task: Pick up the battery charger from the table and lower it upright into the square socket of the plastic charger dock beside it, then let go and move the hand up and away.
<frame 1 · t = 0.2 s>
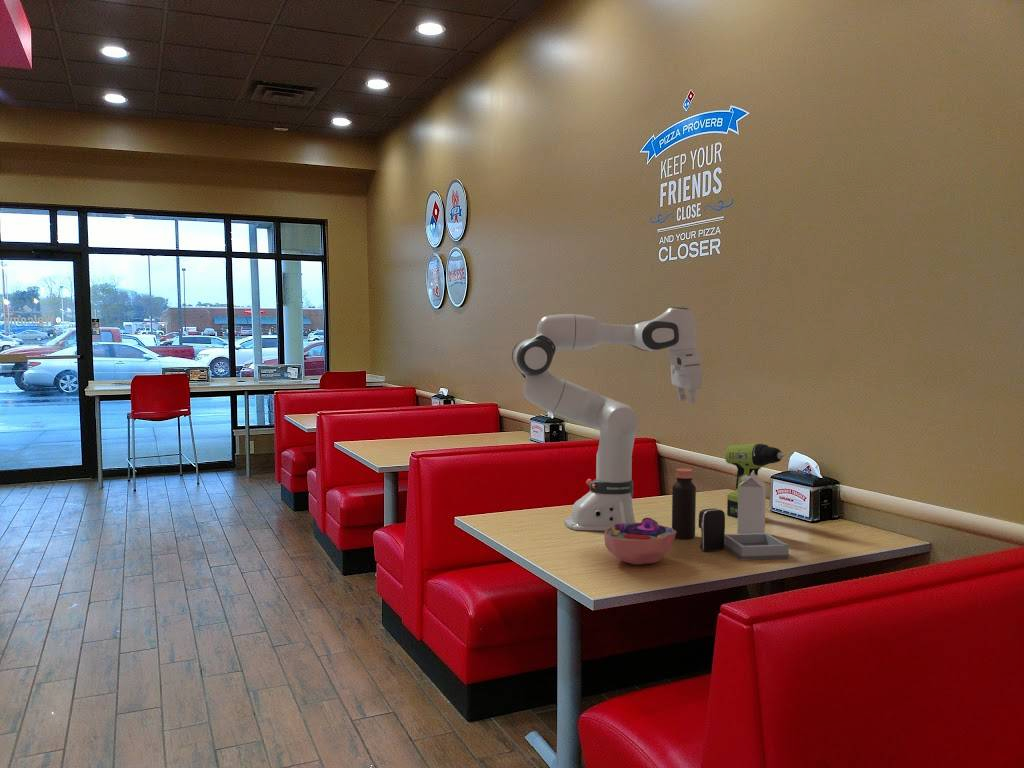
hand: (687, 401, 238), 39 cm above the table, tool pointing down, fingers open, 8 cm apart
milk carton: (751, 535, 225), on the table
battery charger: (710, 550, 209), on the table
charger dock: (754, 552, 206), on the table
cordless drill: (755, 520, 243), on the table
bottle: (683, 537, 223), on the table
cell model: (639, 562, 198), on the table
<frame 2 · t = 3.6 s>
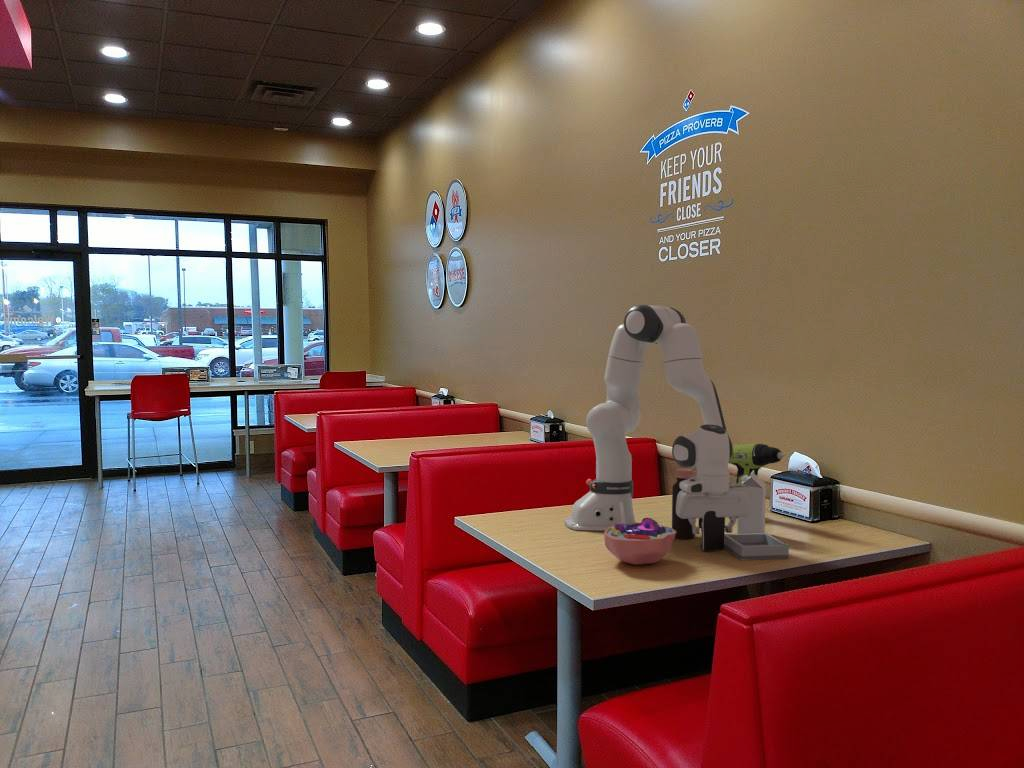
hand: (712, 533, 209), 5 cm above the table, tool pointing down, fingers open, 8 cm apart
nothing on the table moved.
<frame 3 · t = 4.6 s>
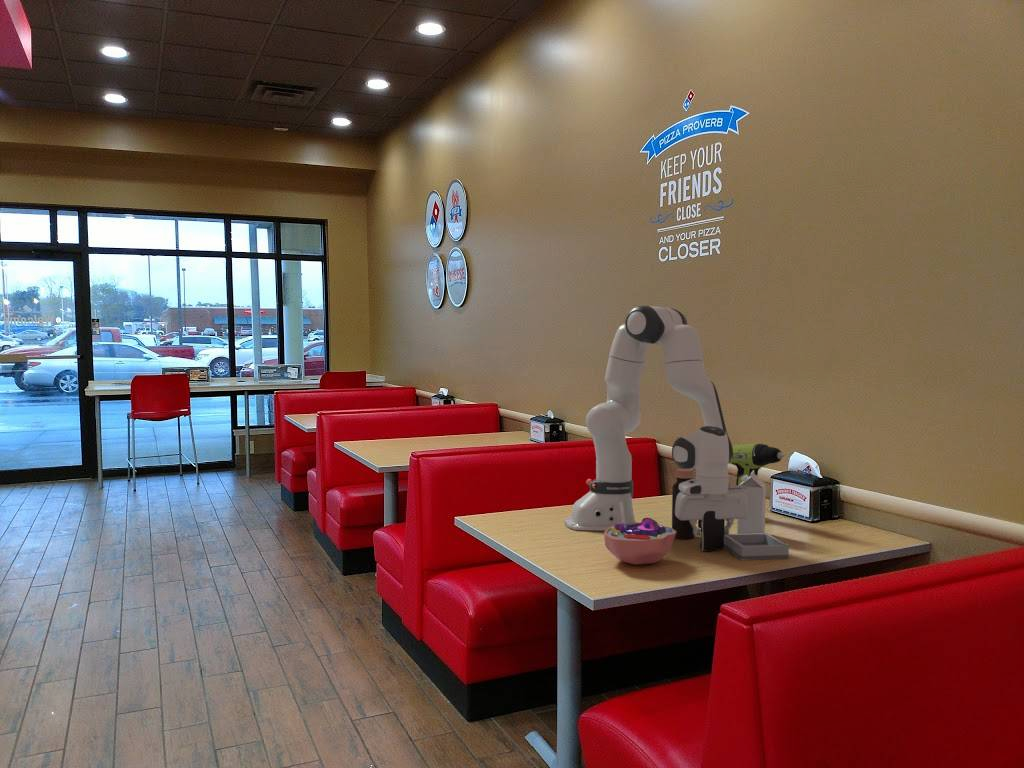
hand: (711, 534, 209), 4 cm above the table, tool pointing down, fingers closed on battery charger, 7 cm apart
battery charger: (710, 550, 209), on the table, touching gripper
everything else where it was.
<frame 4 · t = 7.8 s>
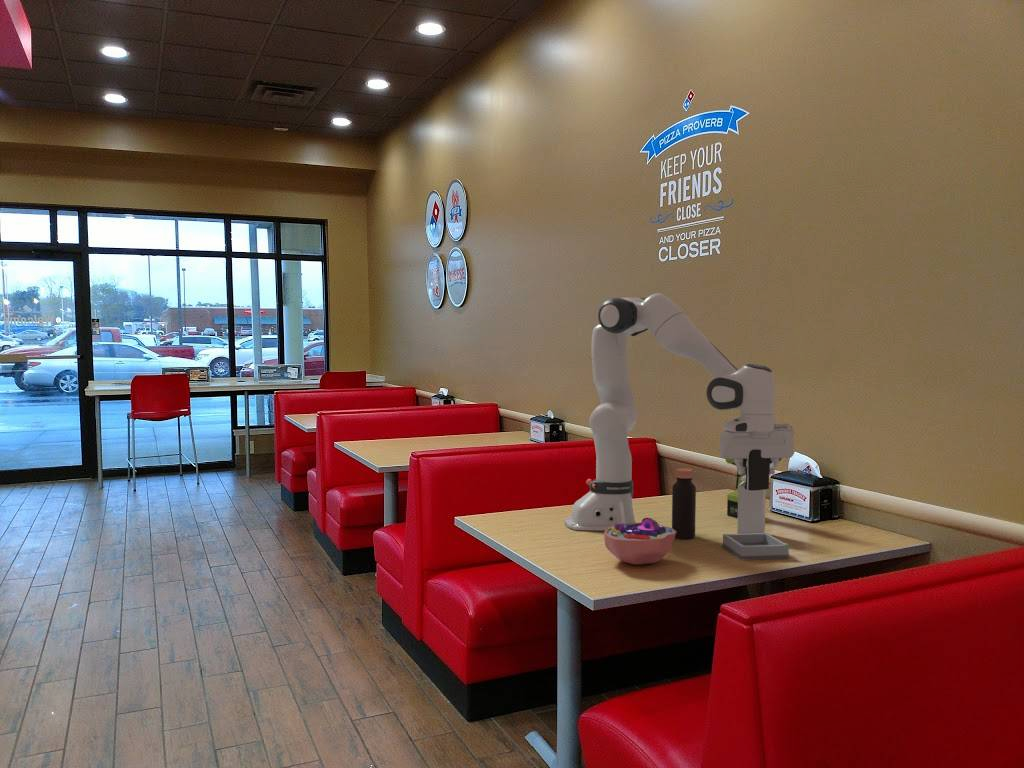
hand: (756, 474, 205), 22 cm above the table, tool pointing down, fingers closed on battery charger, 7 cm apart
battery charger: (755, 490, 205), point 17 cm above the table, touching gripper
everything else where it was.
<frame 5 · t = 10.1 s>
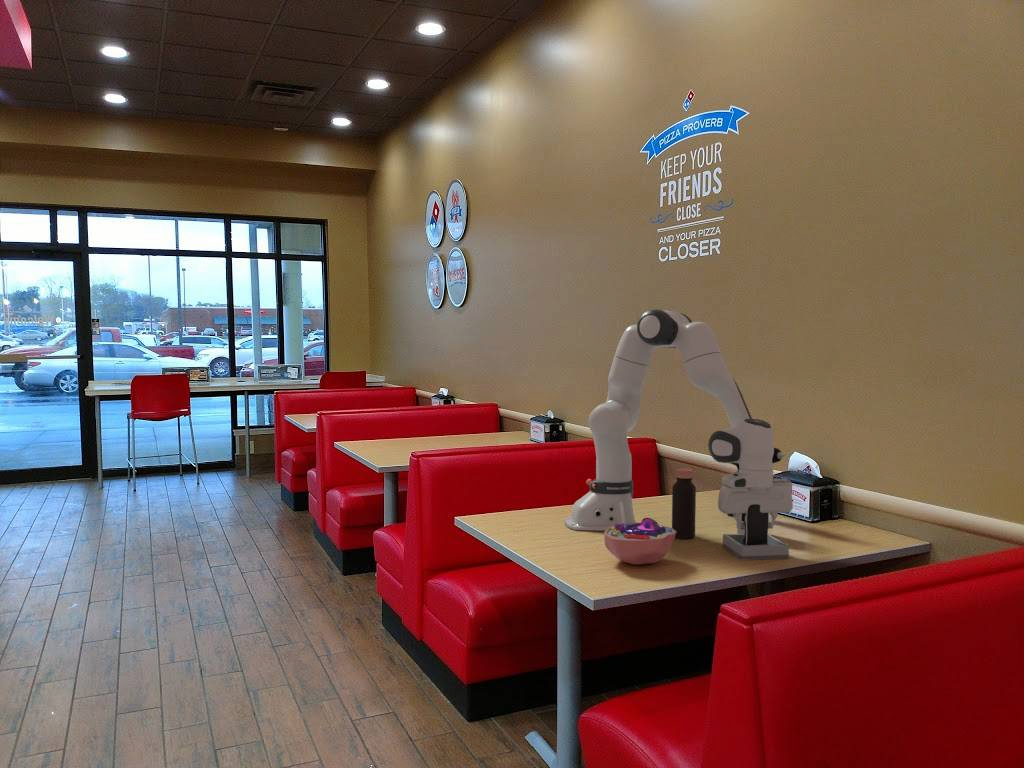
hand: (754, 528, 206), 7 cm above the table, tool pointing down, fingers closed on battery charger, 7 cm apart
battery charger: (753, 544, 206), point 2 cm above the table, touching gripper
everything else where it was.
when the fingers open (6 cm above the table, at t = 11.3 s): battery charger moves 2 cm, resting on charger dock.
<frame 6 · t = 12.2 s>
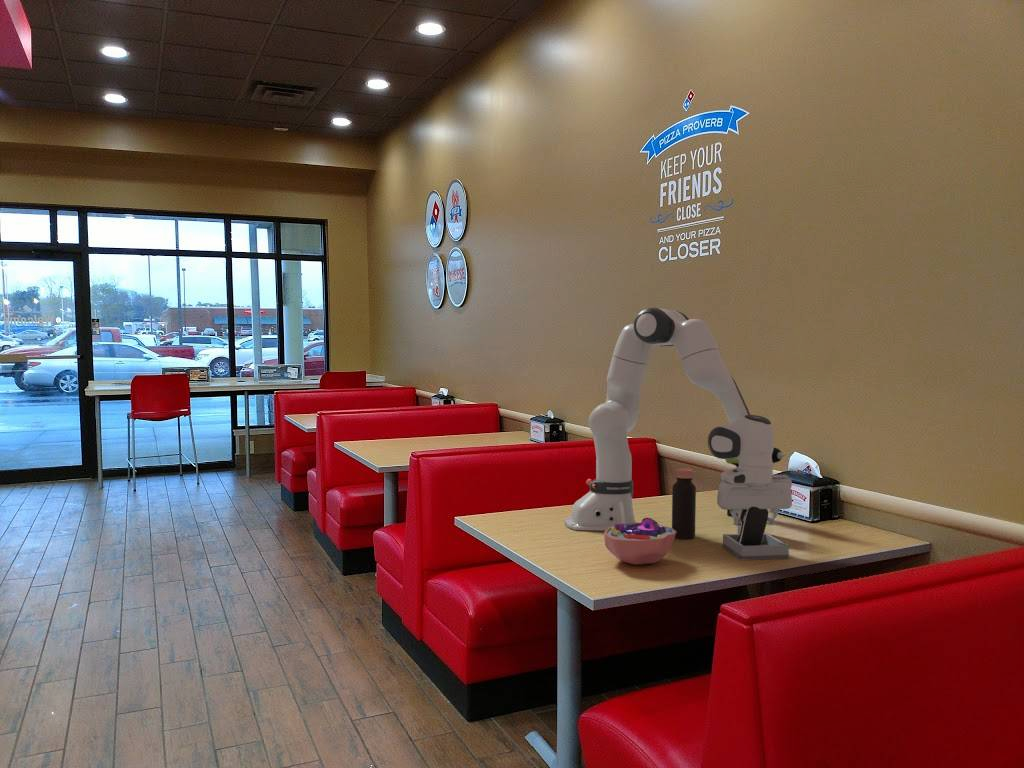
hand: (753, 524, 206), 8 cm above the table, tool pointing down, fingers open, 8 cm apart
battery charger: (746, 546, 206), point 2 cm above the table, touching charger dock, gripper
everything else where it was.
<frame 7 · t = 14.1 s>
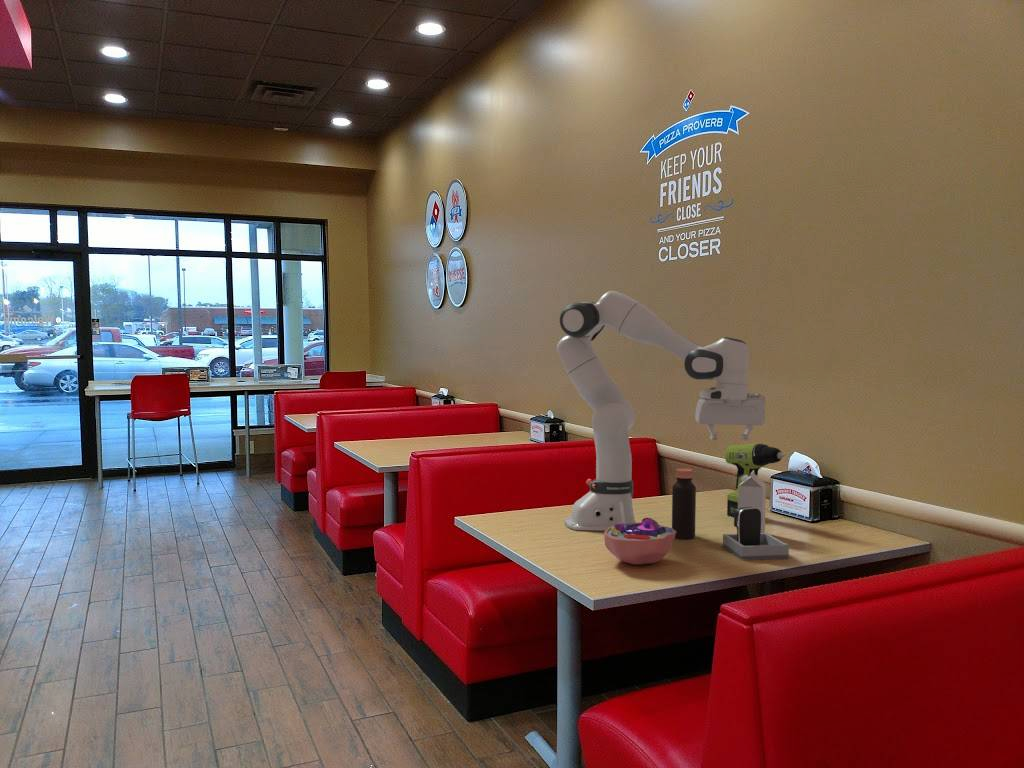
hand: (729, 439, 221), 29 cm above the table, tool pointing down, fingers open, 8 cm apart
battery charger: (746, 549, 206), point 1 cm above the table, touching charger dock
everything else where it was.
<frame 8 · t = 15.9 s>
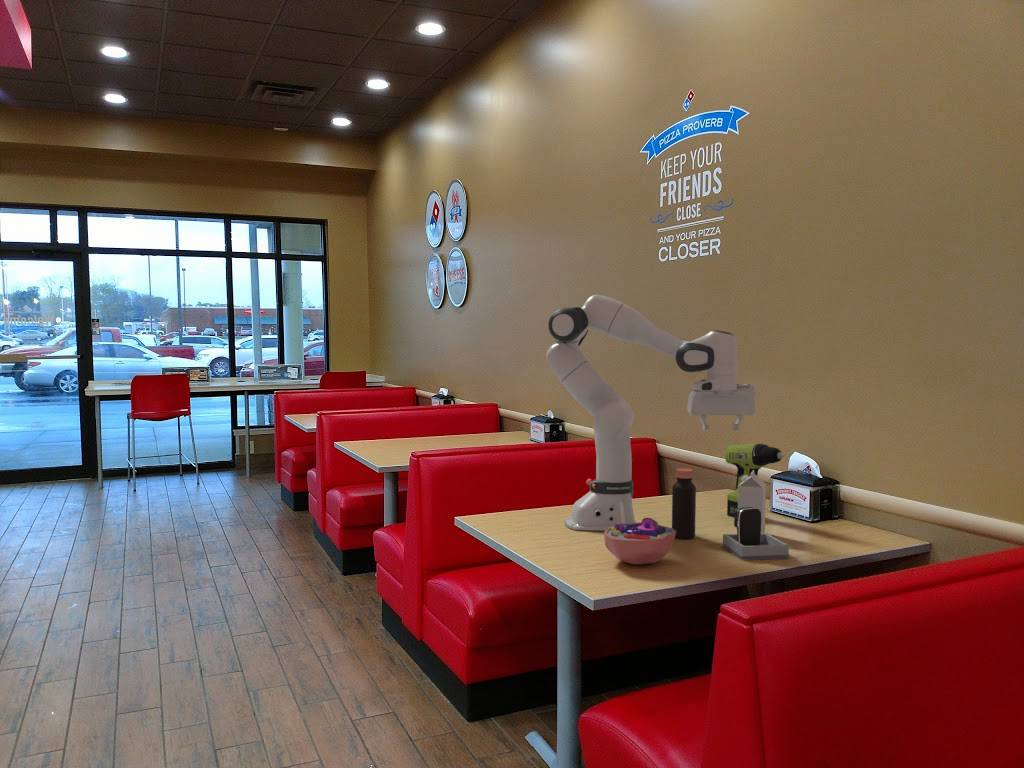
hand: (721, 429, 227), 31 cm above the table, tool pointing down, fingers open, 8 cm apart
nothing on the table moved.
at the end: battery charger inside the target area on the charger dock (2.3 cm from its centre), point 0.8 cm above the charger dock's base; battery charger tilted 0°; the gripper is holding nothing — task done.
